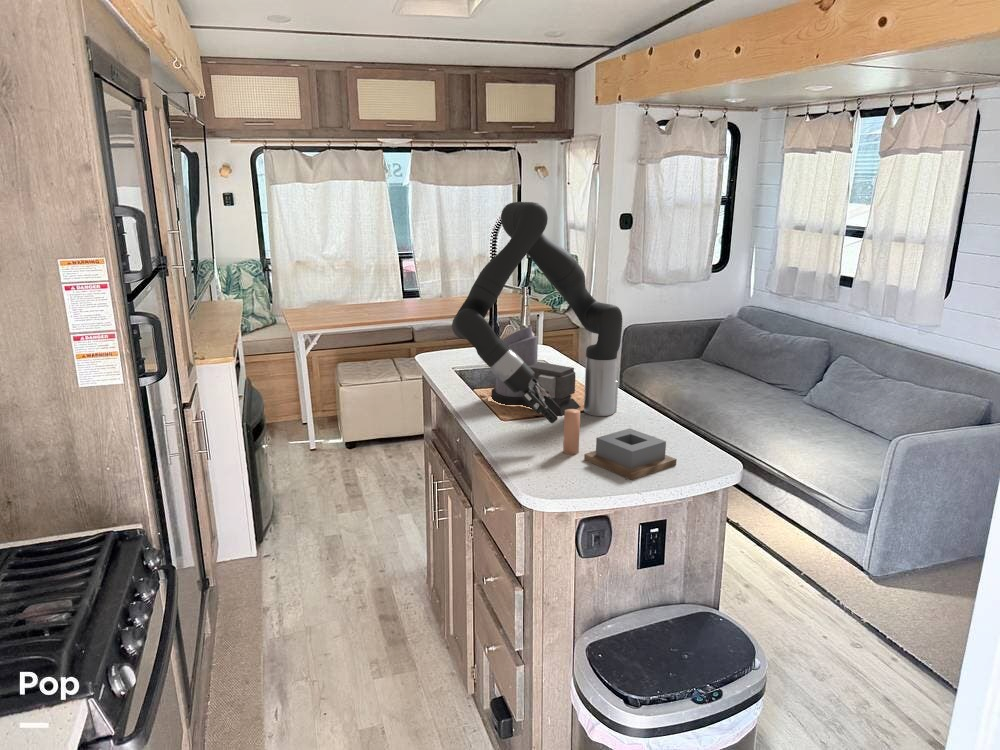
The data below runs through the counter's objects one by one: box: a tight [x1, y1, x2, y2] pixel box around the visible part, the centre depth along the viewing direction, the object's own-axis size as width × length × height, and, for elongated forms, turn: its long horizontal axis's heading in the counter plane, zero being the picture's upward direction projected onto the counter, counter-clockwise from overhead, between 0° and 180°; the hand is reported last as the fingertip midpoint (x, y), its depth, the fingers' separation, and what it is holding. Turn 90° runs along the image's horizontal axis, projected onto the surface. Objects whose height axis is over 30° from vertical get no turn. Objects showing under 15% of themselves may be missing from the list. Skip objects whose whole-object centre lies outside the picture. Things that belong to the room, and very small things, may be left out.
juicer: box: [490, 326, 582, 417], centre depth 224 cm, size 30×16×24 cm, turn 54°
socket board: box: [583, 450, 677, 481], centre depth 178 cm, size 16×16×2 cm
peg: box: [562, 409, 581, 456], centre depth 183 cm, size 4×4×11 cm
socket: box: [595, 427, 667, 469], centre depth 177 cm, size 12×12×4 cm
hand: (556, 415), depth 183 cm, fingers open, 8 cm apart
